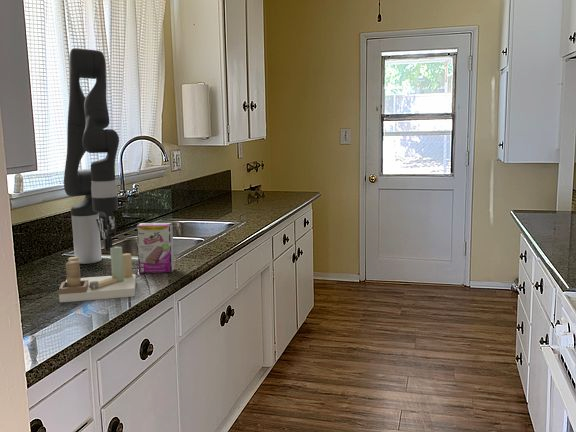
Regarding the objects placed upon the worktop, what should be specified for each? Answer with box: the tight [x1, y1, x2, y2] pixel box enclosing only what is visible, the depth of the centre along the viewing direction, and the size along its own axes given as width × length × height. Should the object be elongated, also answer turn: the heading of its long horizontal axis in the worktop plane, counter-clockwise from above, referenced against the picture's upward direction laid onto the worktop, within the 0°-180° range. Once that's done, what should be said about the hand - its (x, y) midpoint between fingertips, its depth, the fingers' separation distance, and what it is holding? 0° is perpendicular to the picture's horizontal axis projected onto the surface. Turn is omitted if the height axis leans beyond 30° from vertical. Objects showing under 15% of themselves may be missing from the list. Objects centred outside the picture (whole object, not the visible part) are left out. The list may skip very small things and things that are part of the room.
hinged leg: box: [89, 246, 124, 289], centre depth 172 cm, size 12×3×10 cm, turn 148°
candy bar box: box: [136, 222, 175, 274], centre depth 194 cm, size 11×5×16 cm, turn 92°
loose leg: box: [65, 261, 81, 287], centre depth 167 cm, size 4×4×8 cm
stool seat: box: [58, 253, 137, 303], centre depth 173 cm, size 16×21×9 cm
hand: (108, 250), depth 181 cm, fingers closed
